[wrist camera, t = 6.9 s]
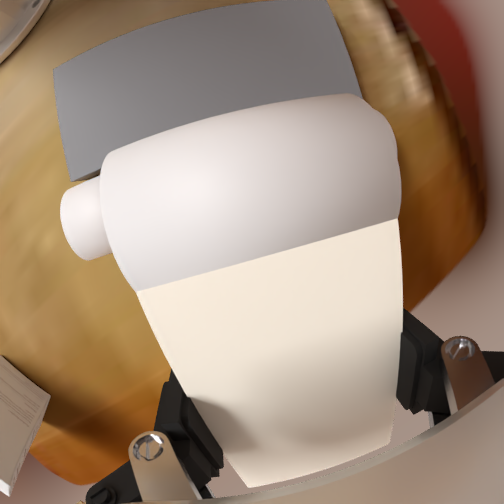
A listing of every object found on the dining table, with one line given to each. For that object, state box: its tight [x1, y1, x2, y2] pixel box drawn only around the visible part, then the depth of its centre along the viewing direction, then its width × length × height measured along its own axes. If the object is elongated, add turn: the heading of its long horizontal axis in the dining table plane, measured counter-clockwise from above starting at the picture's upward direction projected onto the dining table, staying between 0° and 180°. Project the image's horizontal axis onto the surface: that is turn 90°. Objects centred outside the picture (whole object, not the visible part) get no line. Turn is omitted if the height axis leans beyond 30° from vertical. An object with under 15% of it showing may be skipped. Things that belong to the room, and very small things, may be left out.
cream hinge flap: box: [99, 93, 403, 488], centre depth 9 cm, size 13×6×4 cm, turn 14°
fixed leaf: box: [53, 0, 397, 260], centre depth 13 cm, size 13×18×4 cm
